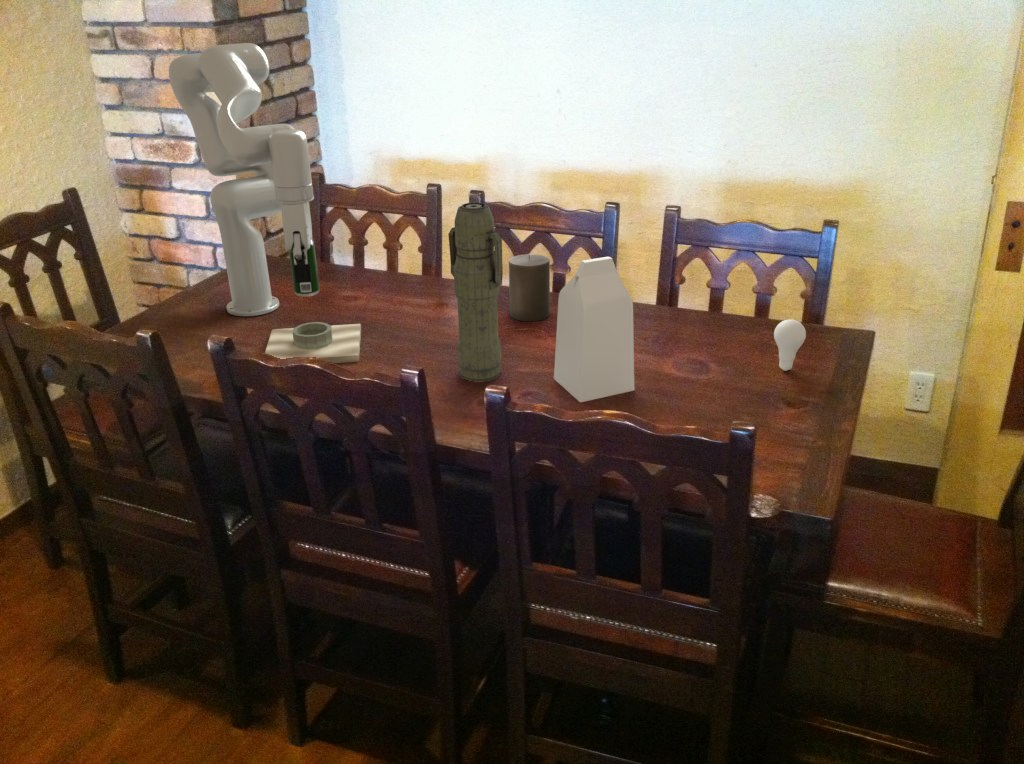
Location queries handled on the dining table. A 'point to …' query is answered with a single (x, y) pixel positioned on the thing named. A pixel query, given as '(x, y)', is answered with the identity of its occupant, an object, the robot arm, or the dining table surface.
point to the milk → (595, 333)
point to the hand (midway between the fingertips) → (305, 276)
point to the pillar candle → (529, 287)
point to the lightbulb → (788, 341)
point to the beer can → (312, 286)
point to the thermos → (477, 290)
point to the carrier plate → (327, 353)
